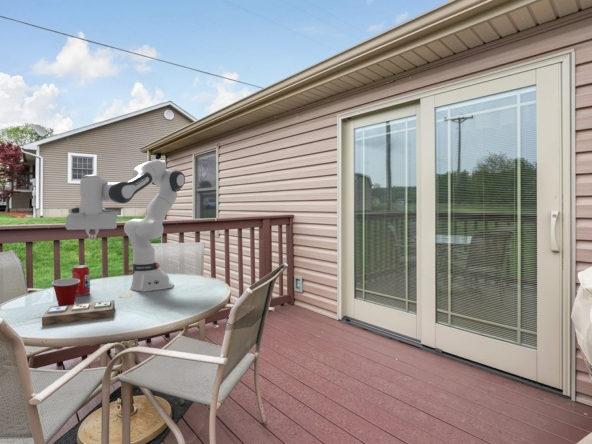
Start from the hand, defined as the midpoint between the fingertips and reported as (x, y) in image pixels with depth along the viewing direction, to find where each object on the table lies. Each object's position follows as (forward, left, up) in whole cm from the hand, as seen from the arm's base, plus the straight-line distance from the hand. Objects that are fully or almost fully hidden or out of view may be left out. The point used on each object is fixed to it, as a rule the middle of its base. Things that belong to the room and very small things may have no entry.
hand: (92, 239), depth 154 cm
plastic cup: (+11, -2, -31) cm, 33 cm away
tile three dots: (+3, +16, -30) cm, 34 cm away
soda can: (+8, -22, -31) cm, 39 cm away
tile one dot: (+11, +16, -30) cm, 36 cm away
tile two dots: (-5, +16, -30) cm, 34 cm away
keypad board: (+3, +16, -31) cm, 35 cm away
